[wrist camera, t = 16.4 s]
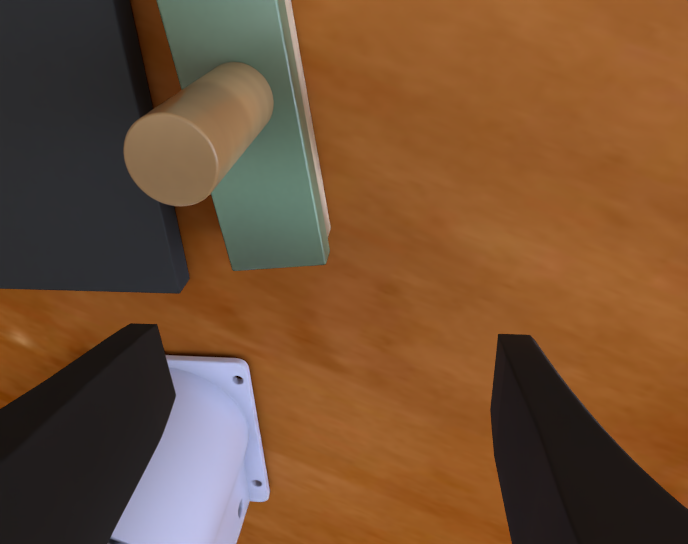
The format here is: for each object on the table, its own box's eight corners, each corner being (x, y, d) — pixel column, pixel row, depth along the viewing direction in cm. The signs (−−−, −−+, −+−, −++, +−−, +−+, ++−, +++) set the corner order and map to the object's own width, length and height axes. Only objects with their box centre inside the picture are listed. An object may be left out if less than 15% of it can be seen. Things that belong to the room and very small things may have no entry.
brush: (336, 233, 22) (296, 368, 15) (249, 240, 23) (175, 372, 16) (271, -144, 16) (161, -194, 9) (157, -120, 17) (-23, -153, 10)
